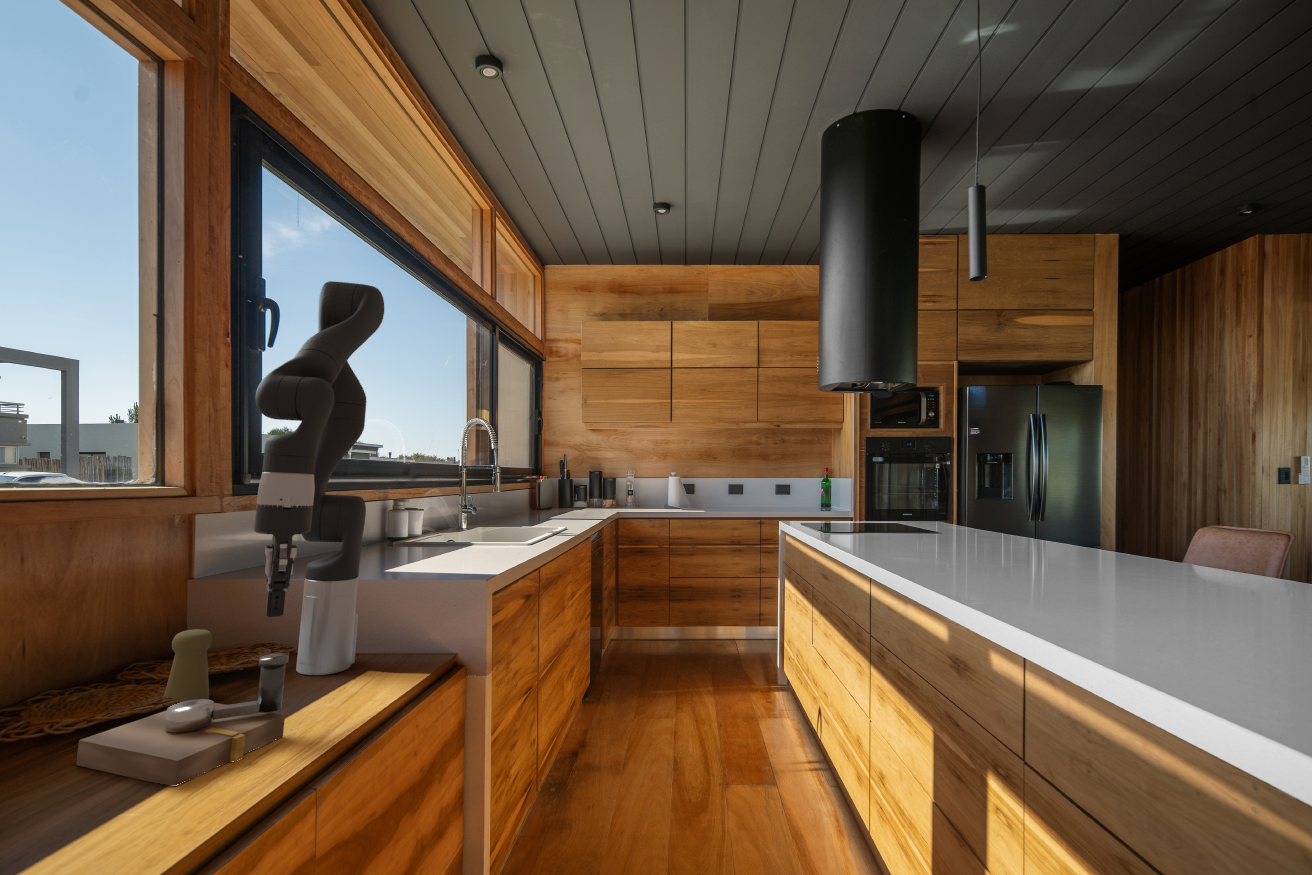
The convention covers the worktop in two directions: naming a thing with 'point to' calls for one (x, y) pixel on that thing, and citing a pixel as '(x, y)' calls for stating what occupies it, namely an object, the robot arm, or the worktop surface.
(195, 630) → the olive tapered upright piece
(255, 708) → the metal lever handle
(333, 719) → the worktop surface
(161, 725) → the stand
